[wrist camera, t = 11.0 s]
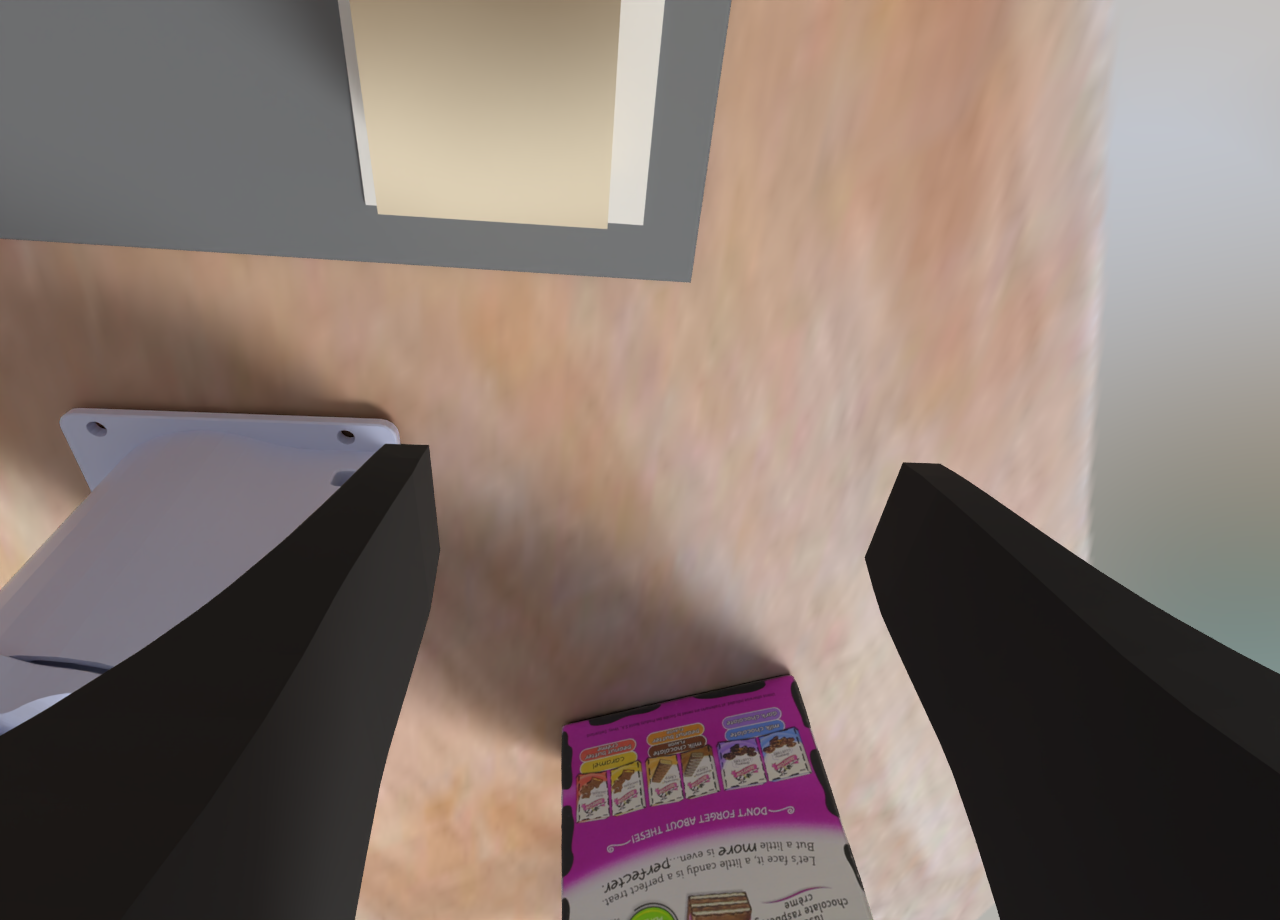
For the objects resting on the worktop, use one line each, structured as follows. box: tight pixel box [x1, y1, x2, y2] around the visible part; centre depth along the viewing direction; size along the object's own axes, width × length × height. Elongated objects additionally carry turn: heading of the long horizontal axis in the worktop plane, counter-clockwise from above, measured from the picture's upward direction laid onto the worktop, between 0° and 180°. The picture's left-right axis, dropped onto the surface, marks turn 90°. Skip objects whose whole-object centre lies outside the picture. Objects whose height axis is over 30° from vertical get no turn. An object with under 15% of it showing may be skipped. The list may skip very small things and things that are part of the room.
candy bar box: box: [561, 675, 873, 920], centre depth 26 cm, size 11×5×16 cm, turn 103°
